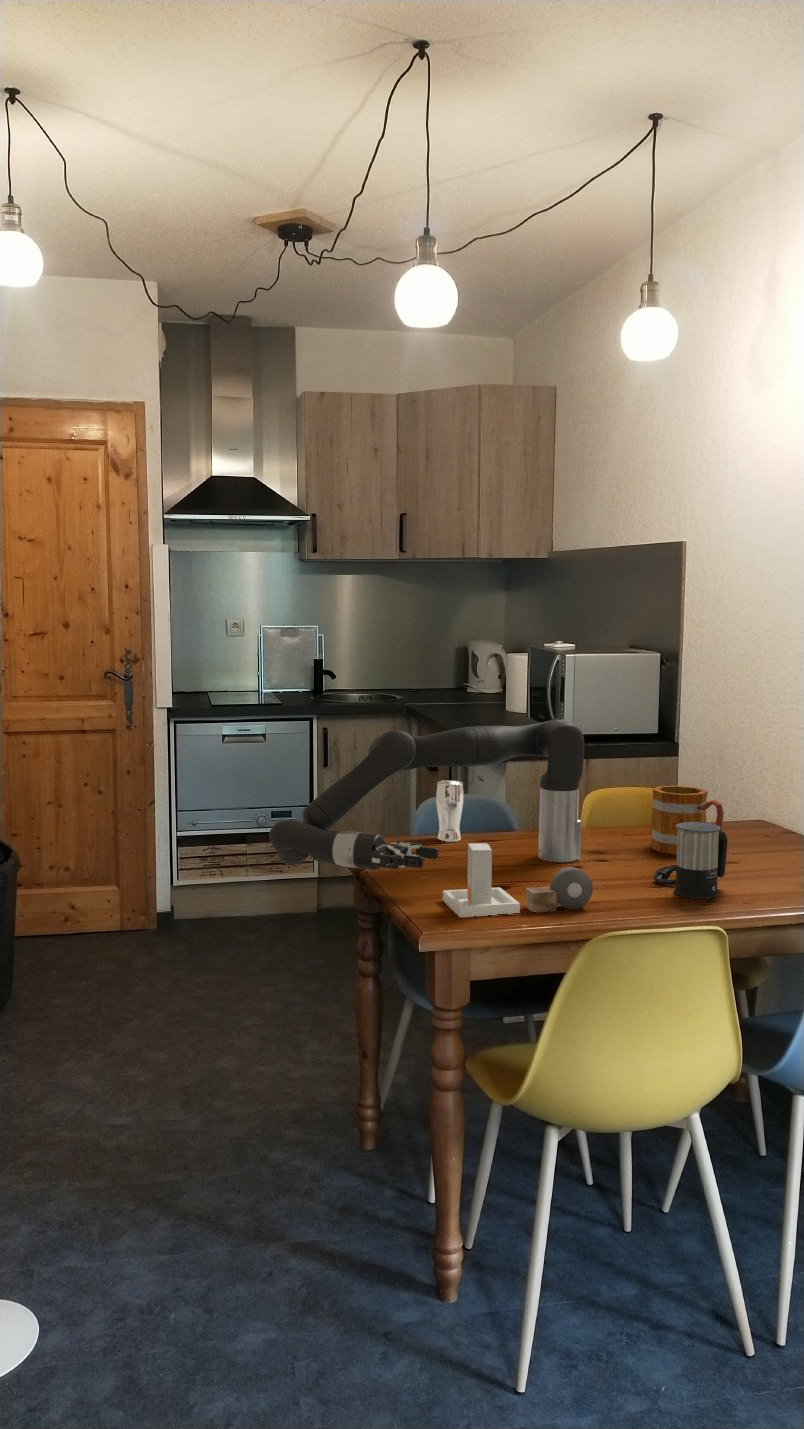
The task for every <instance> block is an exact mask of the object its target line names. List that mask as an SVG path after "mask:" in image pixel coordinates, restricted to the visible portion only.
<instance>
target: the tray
mask: <svg viewBox="0 0 804 1429" xmlns="http://www.w3.org/2000/svg"><path fill="white" fill-rule="evenodd" d="M442 902H444V903H445V905H447V906H448V907H449V908H450V909H451V910H452V911H453V912H454V913H455V914H456V915H457V914H458V915H457V916H458V917H459V918H475V917H474V916H476V917H487V916H488V915H492V916H498V915H497V914H508V915H514V914H513V913H521V902H519V901H517V900H516V899H515V898H514V897H512V896H511V895H510V894H509V893H507V891H505V890H504V889H503V888H501V887H500V886H499V887H491V904H478V905H470V904H469V902H468V900H467V888H464V889H447V890H446V889H445V890H442Z"/></svg>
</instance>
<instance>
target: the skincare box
mask: <svg viewBox="0 0 804 1429" xmlns="http://www.w3.org/2000/svg"><path fill="white" fill-rule="evenodd" d="M492 854H493V849H492V848H491V846H490V845H489V843H486V842H485V843H474V842H473V843H472V842H471V843H467V888H466V889H467V900H468V902H469V904H470V905H478V904H491V888H492V879H493V878H492V874H493V873H492V868H493V867H492V863H493V859H492V857H493V855H492Z"/></svg>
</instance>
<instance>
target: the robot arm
mask: <svg viewBox="0 0 804 1429" xmlns="http://www.w3.org/2000/svg"><path fill="white" fill-rule="evenodd" d="M532 756H533V757H539V756H540V757H547V768H546V770H545V772H544V773H543V774H542V775H541V776H540V779H539V780H540V781H539V784H540V785H539V817H538V818H539V819H538V821H539V823H538V825H539V826H538V859H540V860H542V861H546V862H553V863H569V862H575V861H580V860H581V845H582V844H581V841H582V840H581V839H582V838H581V837H582V821H581V820H580V819H579V799H580V798H579V793H580V792H579V791H580V781H581V779H582V777H583V772H584V771H583V770H584V759H585V757H584V756H585V738H584V734H583V731H582V730H581V728H580V727H579V726H577V725H576V724H574V723H571V722H566V721H563V720H558V719H556V720H554V719H551V720H546V721H543V722H542V721H541V722H536V723H531V724H525V725H516V726H515V725H514V726H513V725H512V726H511V725H478V726H477V725H476V726H465V727H464V726H463V727H460V728H459V727H458V728H454V729H453V728H452V729H449V730H444V731H441V732H436V733H433V734H427V735H413V736H412V735H411V734H409V733H408V732H407V731H404V730H401V729H391V730H388V731H386V732H383V733H382V734H380V735H379V736H377V737H376V738H375V739H374V740H373V741H372V742H371V744H370V746H369V748H368V753H367V756H366V757H365V758H364V759H363V760H362V761H360V763H359V764H358V765H357V766H355V767H354V768H353V769H351V770H350V771H349V772H347V773H346V774H345V775H344V776H342V777H341V778H340V779H338V780H337V781H336V782H334V783H332V784H331V785H330V786H329V787H327V788H326V789H325V790H324V791H322V793H320V794H319V795H318V796H317V797H316V798H315V799H313V800H312V801H311V802H310V803H309V804H308V805H307V806H306V807H305V808H304V809H303V810H302V819H303V820H302V821H301V820H296V819H286V820H285V819H284V820H280V821H277V823H274V824H273V826H272V827H271V828H270V831H269V840H270V843H271V845H272V847H273V849H274V851H275V852H276V854H277V856H278V858H279V860H280V861H281V862H282V863H284V864H285V865H288V866H296V865H298V864H301V863H303V862H304V861H305V860H307V859H308V858H309V857H311V859H313V860H314V861H316V862H319V863H323V864H331V865H338V866H342V867H347V868H353V869H355V868H356V869H364V870H370V871H376V870H379V869H380V868H385V869H393V870H397V869H400V868H401V869H402V868H405V867H406V868H416V869H422V868H423V867H424V866H425V865H424V861H425V860H424V859H431V860H437V859H439V849H438V848H437V847H429V846H423V843H421V842H411V841H403V840H402V841H401V840H396V841H395V842H389V844H386V842H385V839H384V837H383V835H381V834H380V833H369V832H360V831H338V830H330V829H331V828H332V827H333V826H335V824H337V822H339V821H340V820H341V819H343V817H344V816H346V815H347V814H348V812H350V811H351V810H352V809H353V808H354V807H355V806H356V805H357V804H358V803H359V802H361V800H362V799H363V798H365V797H366V795H368V794H369V793H370V792H371V791H372V790H373V789H375V788H376V787H377V786H378V785H380V784H381V783H382V782H383V781H385V780H387V778H390V777H391V776H392V775H394V774H396V773H398V772H404V771H408V770H412V769H413V770H415V769H420V768H429V767H435V768H436V767H439V768H440V767H443V768H449V767H450V768H452V767H453V768H456V767H458V768H459V767H461V768H462V767H480V766H481V767H482V766H490V765H494V764H495V765H496V764H499V763H501V762H505V761H508V760H510V759H513V758H517V757H532ZM413 849H415V851H414V850H413ZM412 850H413V851H412Z"/></svg>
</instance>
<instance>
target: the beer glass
mask: <svg viewBox="0 0 804 1429" xmlns="http://www.w3.org/2000/svg"><path fill="white" fill-rule="evenodd" d="M463 785H464V783H463V781H460V780H453V779H452V780H446V779H445V780H440V781H437V784H436V786H437V788H436V796H435V797H436V798H435V799H436V809H437V810H436V812H437V817H438V822H439V823H438V826H439V828H438V830H439V831H438V834H437V840H438V839H439V840H441V841H440V842H443V841H445V842H444V843H457V842H460V841H461V840H462V836H461V830H460V828H461V818H462V814H463V813H462V812H463V807H464V786H463ZM439 840H438V841H439Z"/></svg>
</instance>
